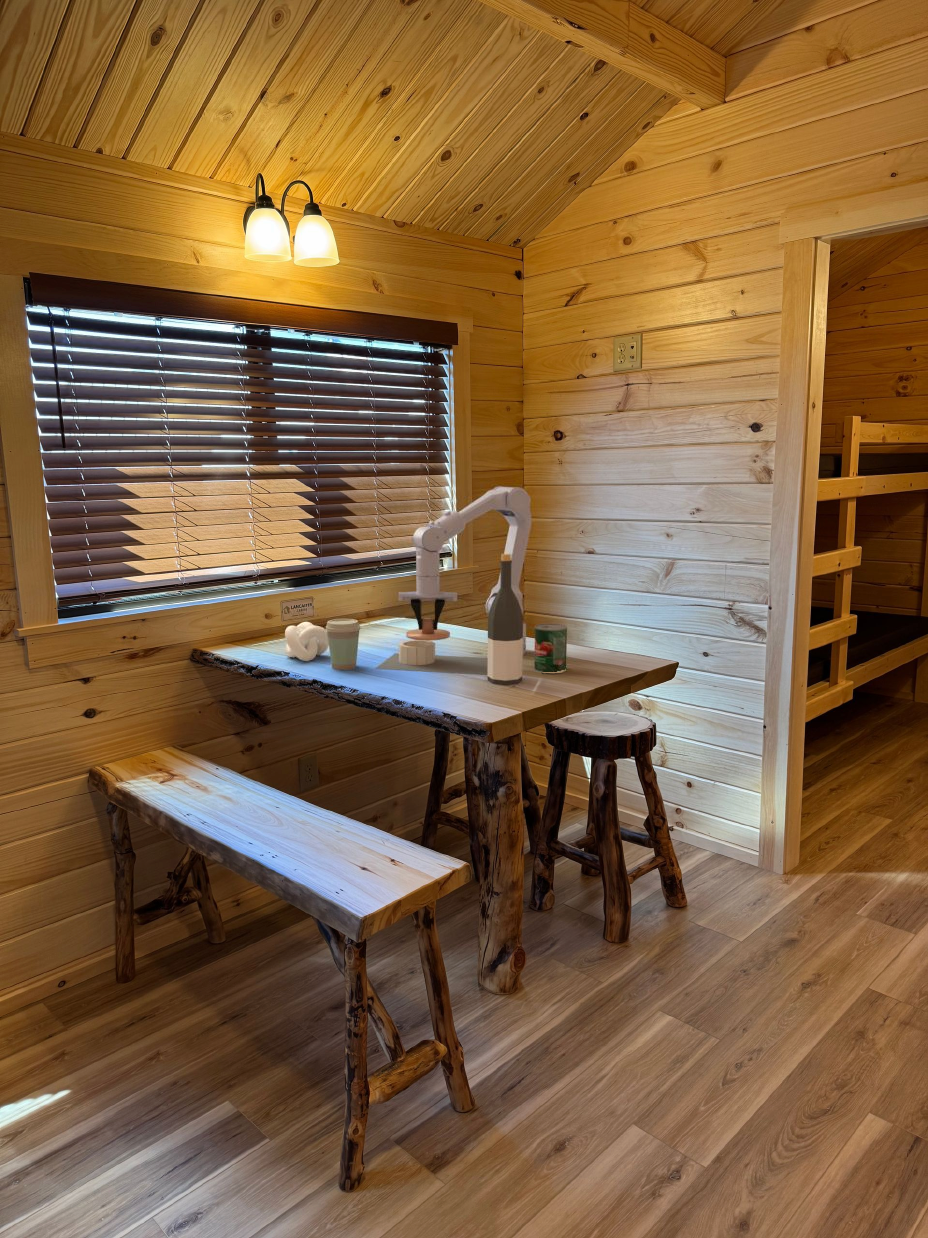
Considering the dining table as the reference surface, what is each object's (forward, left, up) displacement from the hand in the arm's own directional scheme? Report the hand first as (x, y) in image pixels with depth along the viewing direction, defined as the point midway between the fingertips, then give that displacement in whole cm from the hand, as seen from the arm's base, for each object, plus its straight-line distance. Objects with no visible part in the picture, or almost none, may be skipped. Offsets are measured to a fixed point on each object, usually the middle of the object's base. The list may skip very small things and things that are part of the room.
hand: (428, 629), depth 211 cm
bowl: (+3, -1, -9) cm, 9 cm away
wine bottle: (-22, +13, -9) cm, 27 cm away
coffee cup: (+19, +9, -9) cm, 23 cm away
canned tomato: (-31, -1, -9) cm, 32 cm away
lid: (0, 0, -2) cm, 2 cm away
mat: (-3, +1, -9) cm, 10 cm away
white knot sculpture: (+33, +1, -9) cm, 35 cm away
